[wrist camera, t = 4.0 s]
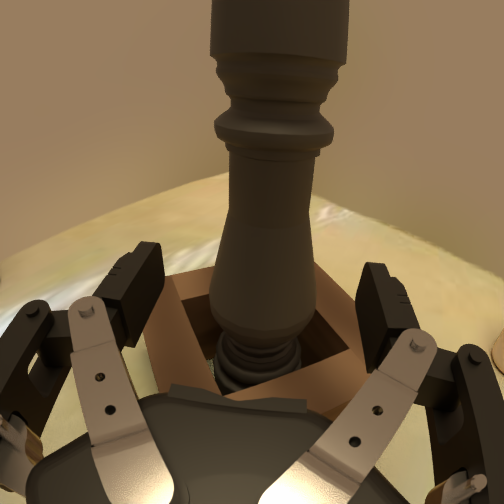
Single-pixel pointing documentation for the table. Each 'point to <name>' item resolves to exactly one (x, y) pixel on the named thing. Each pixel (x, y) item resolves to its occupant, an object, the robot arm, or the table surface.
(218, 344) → the candle holder
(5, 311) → the table surface
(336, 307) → the bore block
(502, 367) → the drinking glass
